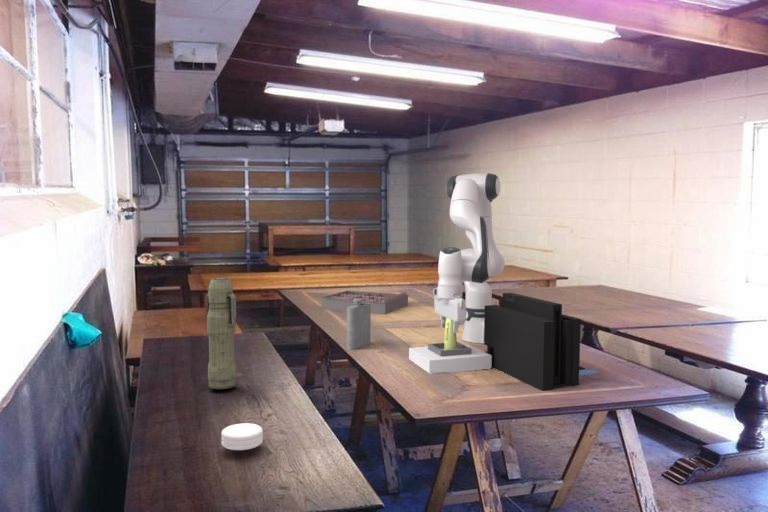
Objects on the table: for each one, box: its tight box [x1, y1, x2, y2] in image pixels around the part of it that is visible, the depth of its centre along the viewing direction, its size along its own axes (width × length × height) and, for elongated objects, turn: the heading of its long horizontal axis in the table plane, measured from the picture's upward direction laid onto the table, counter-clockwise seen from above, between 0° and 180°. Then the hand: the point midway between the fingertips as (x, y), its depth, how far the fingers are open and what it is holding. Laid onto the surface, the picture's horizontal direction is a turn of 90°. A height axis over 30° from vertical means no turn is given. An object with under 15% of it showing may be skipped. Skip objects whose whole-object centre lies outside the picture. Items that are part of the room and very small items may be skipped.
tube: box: [443, 318, 458, 350], centre depth 230 cm, size 6×5×20 cm
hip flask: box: [346, 299, 371, 351], centre depth 259 cm, size 16×4×20 cm, turn 152°
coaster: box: [220, 422, 264, 451], centre depth 156 cm, size 10×10×4 cm
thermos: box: [205, 276, 237, 390], centre depth 204 cm, size 9×12×35 cm
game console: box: [483, 292, 598, 391], centre depth 222 cm, size 35×30×27 cm
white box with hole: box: [408, 341, 492, 376], centre depth 231 cm, size 24×20×7 cm
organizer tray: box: [320, 290, 410, 315], centre depth 349 cm, size 32×40×10 cm
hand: (449, 329), depth 231 cm, fingers open, 8 cm apart
